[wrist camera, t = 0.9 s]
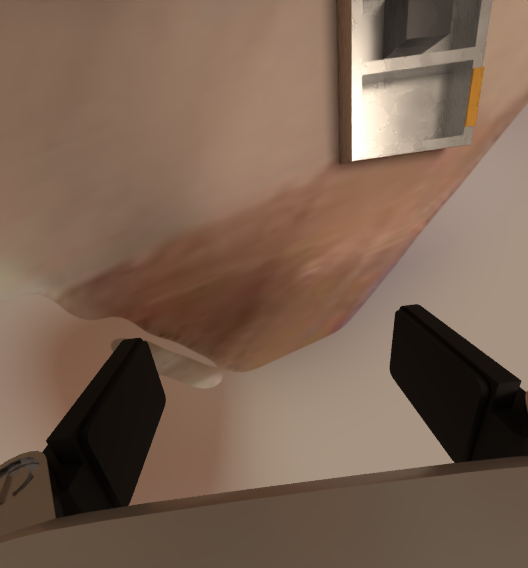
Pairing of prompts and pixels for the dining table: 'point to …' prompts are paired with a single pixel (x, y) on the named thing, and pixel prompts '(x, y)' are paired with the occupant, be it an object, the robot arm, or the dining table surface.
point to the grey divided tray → (408, 74)
